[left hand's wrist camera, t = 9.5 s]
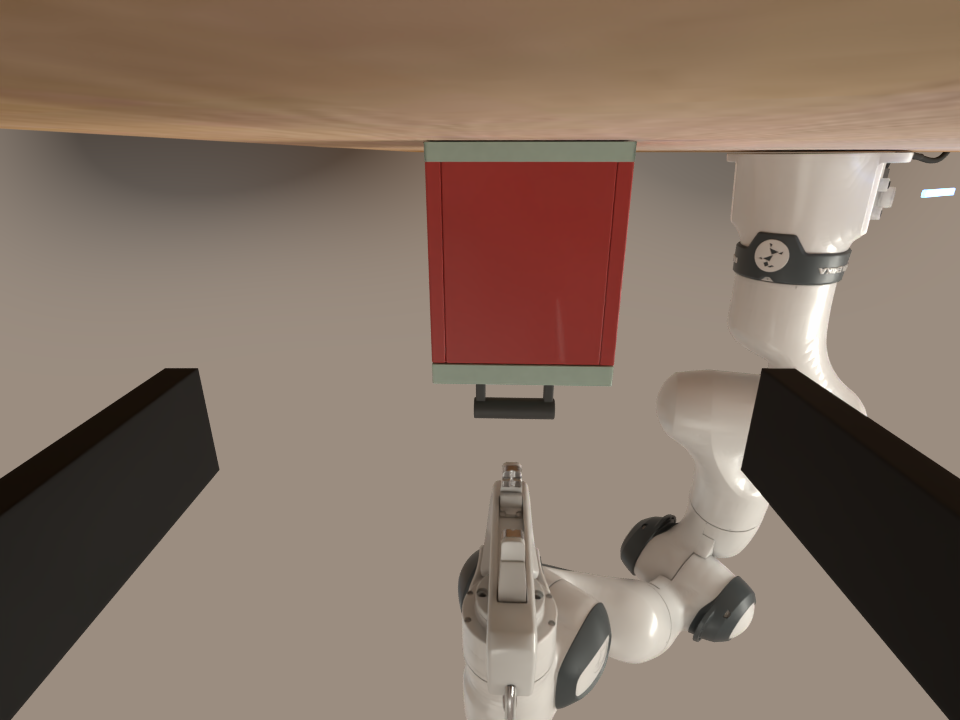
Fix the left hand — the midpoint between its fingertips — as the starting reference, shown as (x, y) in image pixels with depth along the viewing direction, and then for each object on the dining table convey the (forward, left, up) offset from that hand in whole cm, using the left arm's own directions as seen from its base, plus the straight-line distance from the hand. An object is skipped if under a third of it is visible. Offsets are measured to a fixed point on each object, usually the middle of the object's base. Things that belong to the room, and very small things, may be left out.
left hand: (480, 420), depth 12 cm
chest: (+21, +5, -7) cm, 22 cm away
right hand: (+25, +5, +21) cm, 33 cm away
